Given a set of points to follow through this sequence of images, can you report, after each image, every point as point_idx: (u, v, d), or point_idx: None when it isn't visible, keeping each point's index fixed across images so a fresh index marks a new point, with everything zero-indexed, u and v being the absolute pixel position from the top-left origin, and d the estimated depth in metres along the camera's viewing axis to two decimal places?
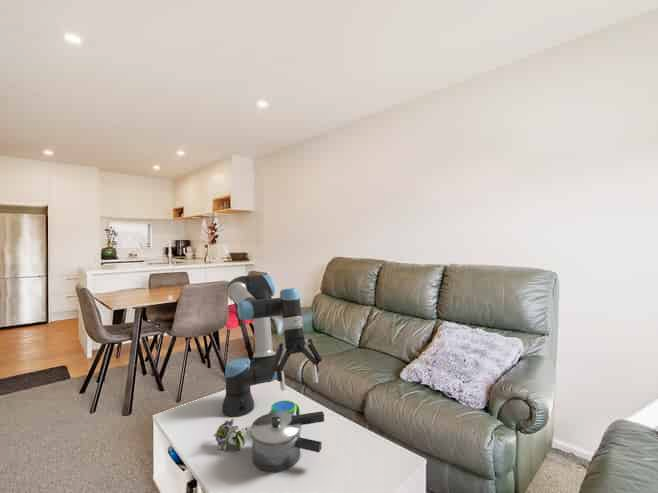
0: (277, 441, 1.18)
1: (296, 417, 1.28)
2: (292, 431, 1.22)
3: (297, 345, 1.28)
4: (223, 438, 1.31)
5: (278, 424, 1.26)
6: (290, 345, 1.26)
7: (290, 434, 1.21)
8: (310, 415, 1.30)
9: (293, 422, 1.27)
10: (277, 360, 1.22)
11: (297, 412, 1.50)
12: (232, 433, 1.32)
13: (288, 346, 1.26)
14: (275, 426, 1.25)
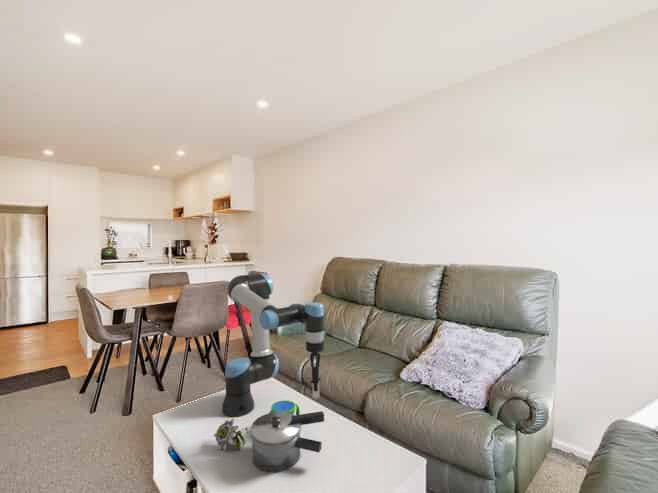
0: (277, 441, 1.18)
1: (296, 417, 1.28)
2: (292, 431, 1.22)
3: (318, 354, 1.38)
4: (223, 438, 1.31)
5: (278, 424, 1.26)
6: (317, 356, 1.35)
7: (290, 434, 1.21)
8: (310, 415, 1.30)
9: (293, 422, 1.27)
10: (318, 375, 1.34)
11: (297, 412, 1.50)
12: (232, 433, 1.32)
13: (317, 358, 1.35)
14: (275, 426, 1.25)
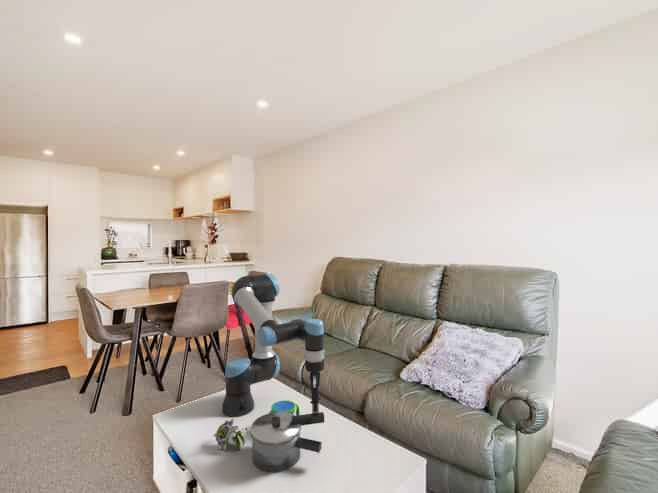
0: (276, 441, 1.18)
1: (296, 418, 1.28)
2: (292, 432, 1.22)
3: (317, 373, 1.33)
4: (223, 438, 1.31)
5: (278, 424, 1.26)
6: (317, 375, 1.30)
7: (289, 434, 1.21)
8: (310, 415, 1.30)
9: (293, 422, 1.27)
10: (317, 395, 1.28)
11: (297, 412, 1.50)
12: (232, 433, 1.32)
13: None
14: (275, 426, 1.25)
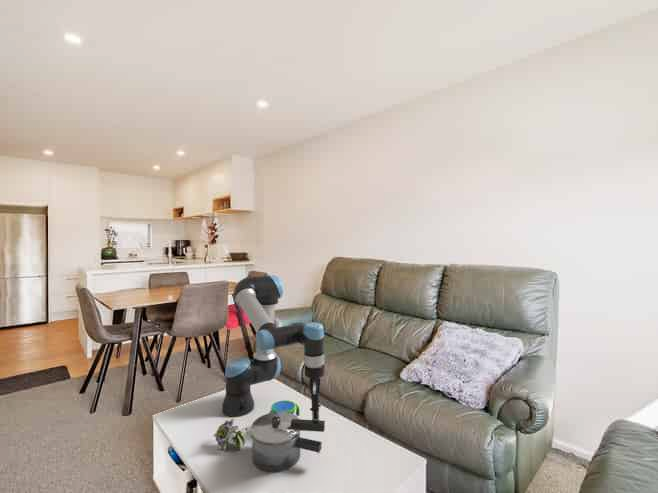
0: (267, 441, 1.18)
1: (295, 422, 1.25)
2: (286, 435, 1.20)
3: (317, 379, 1.27)
4: (223, 438, 1.31)
5: (277, 424, 1.25)
6: (317, 382, 1.24)
7: (282, 437, 1.19)
8: (310, 422, 1.25)
9: (292, 426, 1.25)
10: (318, 402, 1.23)
11: (297, 412, 1.50)
12: (232, 433, 1.32)
13: None
14: (273, 426, 1.25)
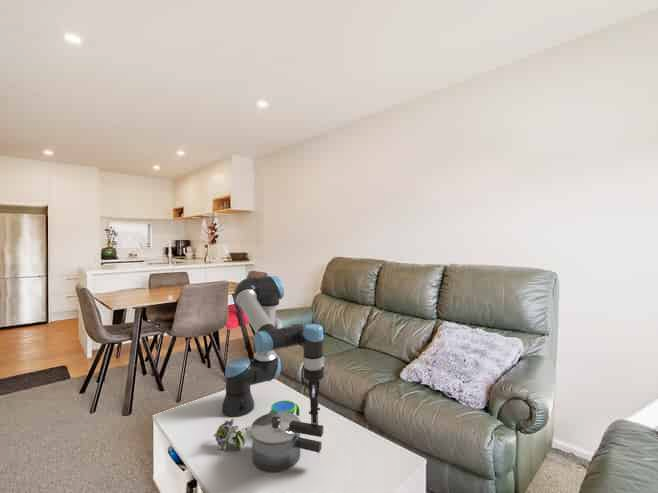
0: (263, 440, 1.18)
1: (294, 424, 1.24)
2: (282, 436, 1.20)
3: (317, 382, 1.25)
4: (223, 438, 1.31)
5: (276, 425, 1.25)
6: (316, 384, 1.22)
7: (277, 438, 1.18)
8: (308, 425, 1.23)
9: (290, 427, 1.24)
10: (317, 406, 1.21)
11: (297, 412, 1.50)
12: (232, 433, 1.32)
13: (316, 387, 1.21)
14: (273, 426, 1.26)
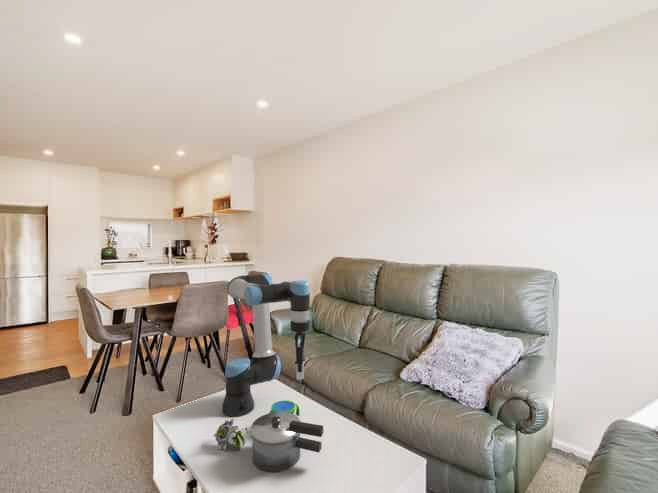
0: (263, 440, 1.18)
1: (294, 424, 1.24)
2: (282, 436, 1.20)
3: (303, 334, 1.33)
4: (223, 438, 1.31)
5: (276, 425, 1.25)
6: (302, 336, 1.30)
7: (277, 438, 1.18)
8: (308, 425, 1.23)
9: (290, 427, 1.24)
10: (302, 355, 1.28)
11: (297, 412, 1.50)
12: (232, 433, 1.32)
13: (302, 338, 1.29)
14: (273, 426, 1.26)
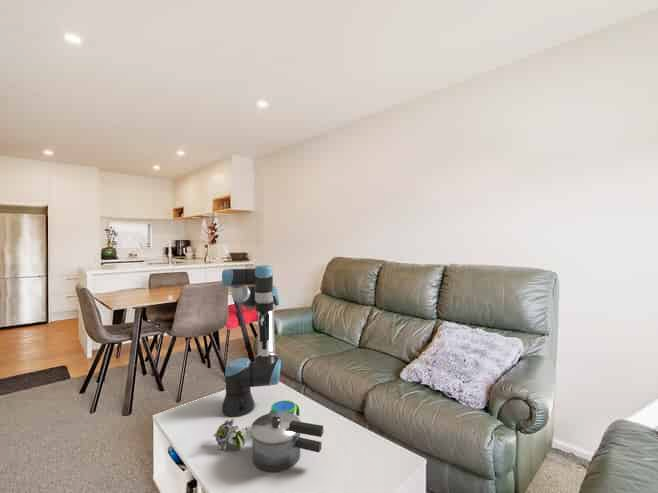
0: (263, 440, 1.18)
1: (294, 424, 1.24)
2: (282, 436, 1.20)
3: (267, 314, 1.44)
4: (223, 438, 1.31)
5: (276, 425, 1.25)
6: (265, 315, 1.41)
7: (277, 438, 1.18)
8: (308, 425, 1.23)
9: (290, 427, 1.24)
10: (265, 333, 1.40)
11: (297, 412, 1.50)
12: (232, 433, 1.32)
13: (265, 317, 1.41)
14: (273, 426, 1.26)
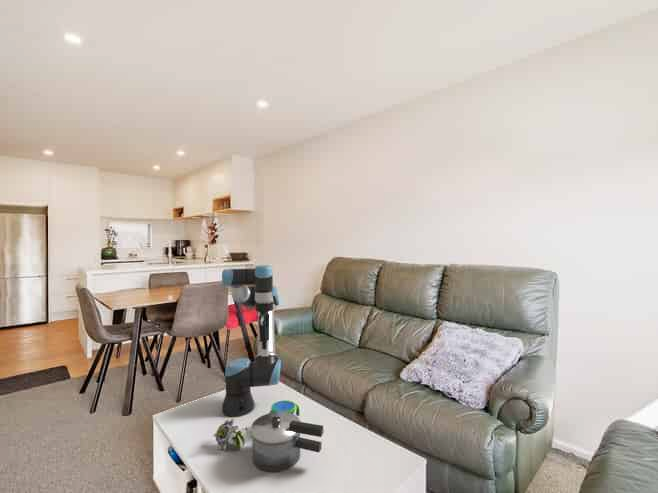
0: (263, 440, 1.18)
1: (294, 424, 1.24)
2: (282, 436, 1.20)
3: (267, 314, 1.44)
4: (223, 438, 1.31)
5: (276, 425, 1.25)
6: (265, 315, 1.41)
7: (277, 438, 1.18)
8: (308, 425, 1.23)
9: (290, 427, 1.24)
10: (265, 333, 1.40)
11: (297, 412, 1.50)
12: (232, 433, 1.32)
13: (265, 317, 1.41)
14: (273, 426, 1.26)
